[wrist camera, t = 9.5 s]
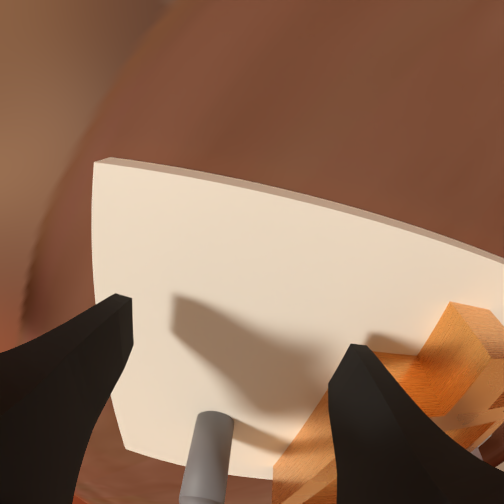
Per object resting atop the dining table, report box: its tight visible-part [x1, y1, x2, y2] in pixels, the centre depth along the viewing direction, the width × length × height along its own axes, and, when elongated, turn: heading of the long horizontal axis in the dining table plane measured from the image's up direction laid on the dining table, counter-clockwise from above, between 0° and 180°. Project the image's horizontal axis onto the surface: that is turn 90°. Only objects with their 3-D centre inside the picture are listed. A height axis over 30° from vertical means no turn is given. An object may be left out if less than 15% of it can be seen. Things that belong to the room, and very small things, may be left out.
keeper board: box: [92, 157, 504, 504], centre depth 11 cm, size 20×22×7 cm
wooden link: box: [272, 301, 504, 504], centre depth 11 cm, size 15×10×4 cm, turn 168°
